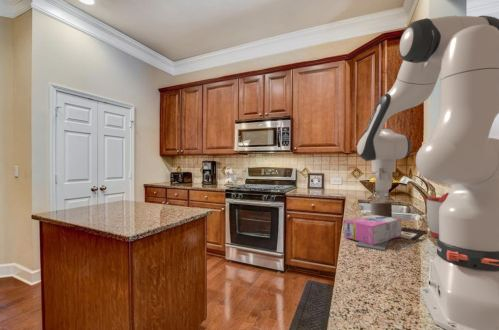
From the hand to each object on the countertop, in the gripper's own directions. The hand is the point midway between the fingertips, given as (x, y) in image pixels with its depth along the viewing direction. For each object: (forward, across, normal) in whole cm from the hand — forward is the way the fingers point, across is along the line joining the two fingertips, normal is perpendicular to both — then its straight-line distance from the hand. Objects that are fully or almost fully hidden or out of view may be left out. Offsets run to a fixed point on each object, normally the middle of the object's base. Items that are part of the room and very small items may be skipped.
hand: (384, 200), depth 101 cm
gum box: (+13, +2, -1) cm, 13 cm away
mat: (+17, +1, +4) cm, 18 cm away
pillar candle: (+17, +25, +5) cm, 30 cm away
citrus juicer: (+18, +24, -22) cm, 37 cm away
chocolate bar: (+18, +21, -7) cm, 28 cm away
